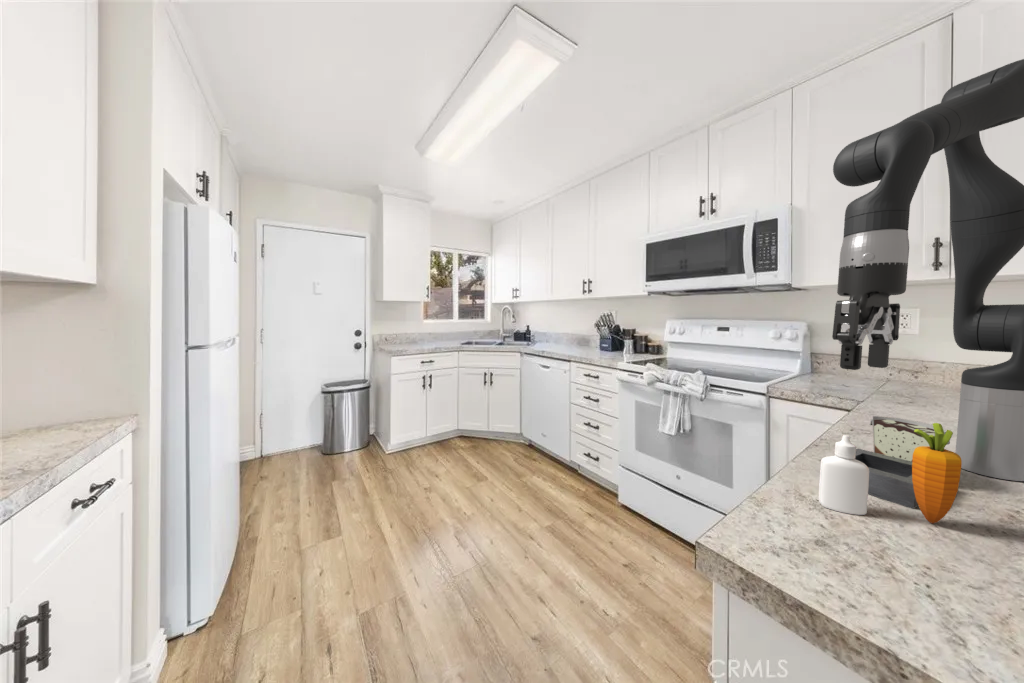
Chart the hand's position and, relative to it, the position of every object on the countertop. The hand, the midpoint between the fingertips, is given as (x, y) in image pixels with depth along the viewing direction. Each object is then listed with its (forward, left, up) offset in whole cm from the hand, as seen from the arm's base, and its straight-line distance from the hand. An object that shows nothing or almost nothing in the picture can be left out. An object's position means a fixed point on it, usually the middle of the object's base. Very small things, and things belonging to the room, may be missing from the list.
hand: (864, 368), depth 56 cm
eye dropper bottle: (+2, -1, -23) cm, 23 cm away
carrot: (-5, +7, -23) cm, 25 cm away
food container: (-27, 0, -23) cm, 36 cm away
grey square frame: (-15, -1, -23) cm, 27 cm away
